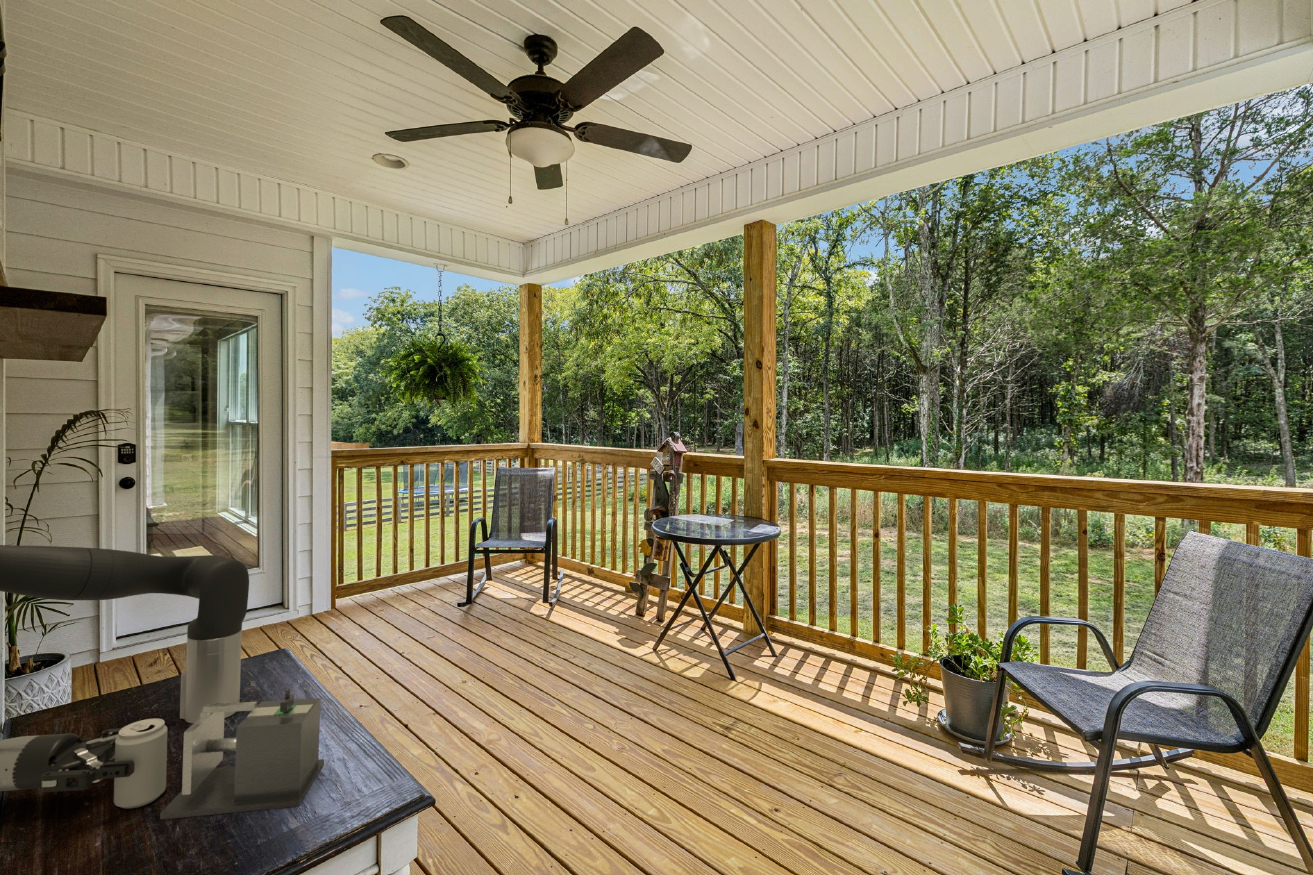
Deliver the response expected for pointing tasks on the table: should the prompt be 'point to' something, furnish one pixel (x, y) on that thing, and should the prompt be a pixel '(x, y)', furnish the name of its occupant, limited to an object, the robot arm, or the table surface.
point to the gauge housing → (261, 764)
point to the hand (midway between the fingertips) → (150, 753)
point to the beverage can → (141, 763)
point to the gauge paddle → (207, 743)
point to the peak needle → (287, 701)
